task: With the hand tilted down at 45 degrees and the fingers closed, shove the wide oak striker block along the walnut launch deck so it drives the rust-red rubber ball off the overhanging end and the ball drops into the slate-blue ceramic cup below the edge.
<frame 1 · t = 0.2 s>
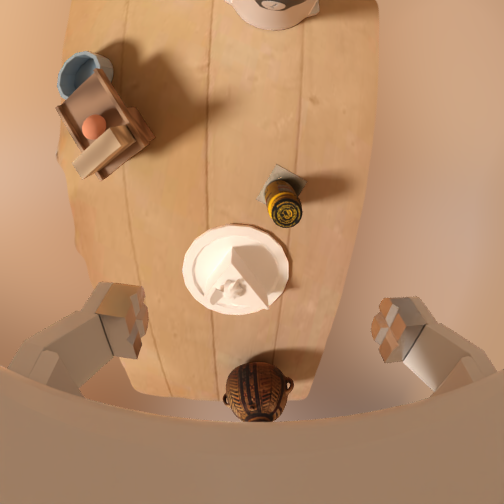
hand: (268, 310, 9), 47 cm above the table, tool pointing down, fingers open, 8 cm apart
cup: (93, 77, 40), on the table
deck: (119, 120, 46), on the table
striker: (113, 147, 41), point 9 cm above the table, touching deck
ball: (94, 127, 36), point 11 cm above the table, touching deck
dish: (235, 271, 65), on the table
vase: (255, 365, 82), on the table
condiment: (281, 189, 55), on the table
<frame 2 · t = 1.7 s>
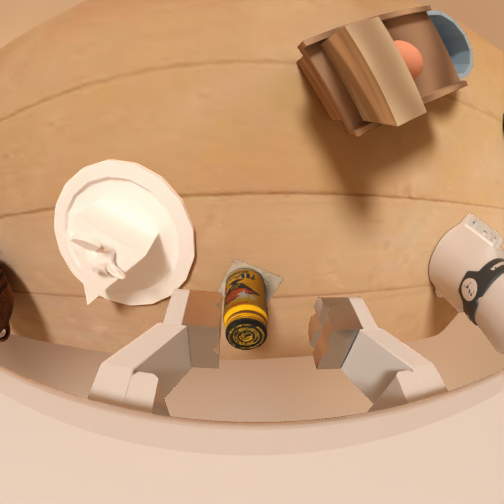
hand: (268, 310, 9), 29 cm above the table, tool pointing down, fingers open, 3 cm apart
cup: (422, 48, 25), on the table
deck: (362, 69, 28), on the table
striker: (356, 76, 21), point 9 cm above the table, touching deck
ball: (402, 60, 18), point 11 cm above the table, touching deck
dish: (119, 237, 40), on the table
vase: (1, 271, 41), on the table
condiment: (249, 284, 44), on the table
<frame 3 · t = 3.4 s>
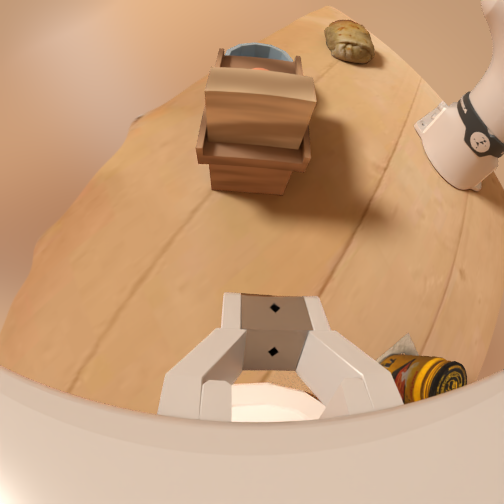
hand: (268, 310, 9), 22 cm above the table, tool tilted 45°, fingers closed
cup: (254, 87, 40), on the table
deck: (250, 142, 36), on the table
striker: (254, 131, 26), point 9 cm above the table, touching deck
dish: (252, 469, 26), on the table
condiment: (395, 372, 30), on the table
pastry: (345, 50, 47), on the table
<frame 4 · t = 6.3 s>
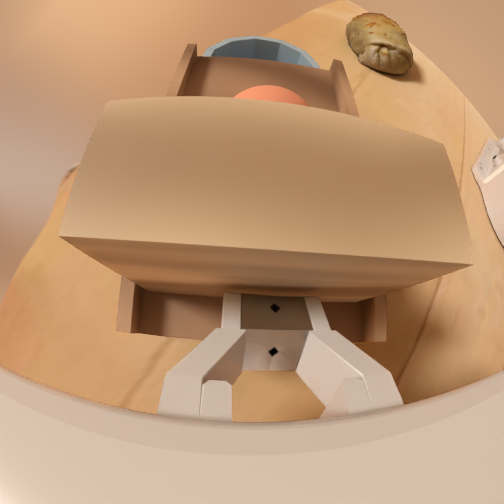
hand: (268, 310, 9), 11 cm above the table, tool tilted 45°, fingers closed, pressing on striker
cup: (254, 110, 25), on the table
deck: (247, 221, 22), on the table
striker: (257, 258, 12), point 9 cm above the table, touching gripper
ball: (267, 133, 11), point 11 cm above the table, touching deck
pastry: (374, 55, 33), on the table
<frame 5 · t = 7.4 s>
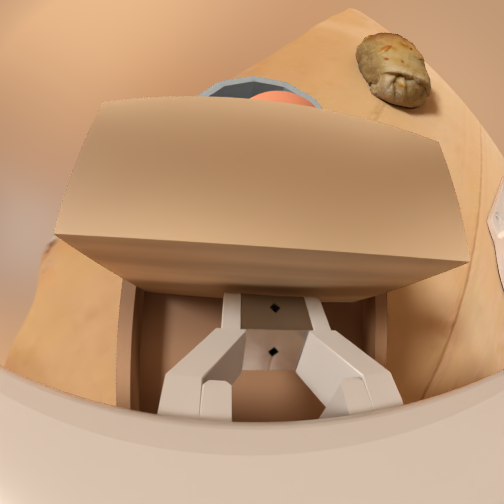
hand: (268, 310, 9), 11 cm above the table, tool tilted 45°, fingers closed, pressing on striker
cup: (251, 171, 23), on the table
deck: (243, 320, 20), on the table
striker: (254, 258, 12), point 9 cm above the table, touching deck, gripper
ball: (278, 139, 11), point 11 cm above the table, tilted 166°, touching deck
pastry: (386, 81, 31), on the table
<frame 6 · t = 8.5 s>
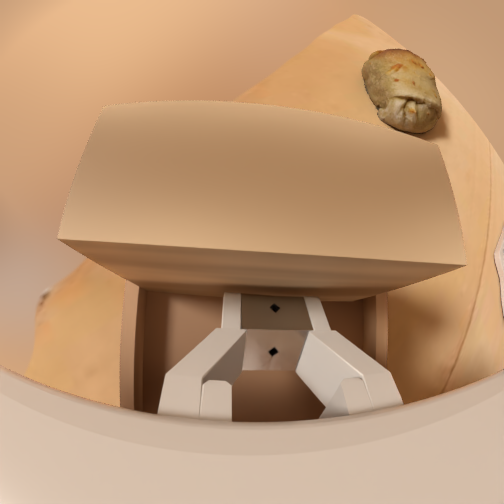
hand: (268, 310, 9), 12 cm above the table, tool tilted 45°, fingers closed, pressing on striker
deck: (242, 381, 19), on the table
striker: (254, 258, 12), point 9 cm above the table, touching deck, gripper
pastry: (394, 101, 29), on the table
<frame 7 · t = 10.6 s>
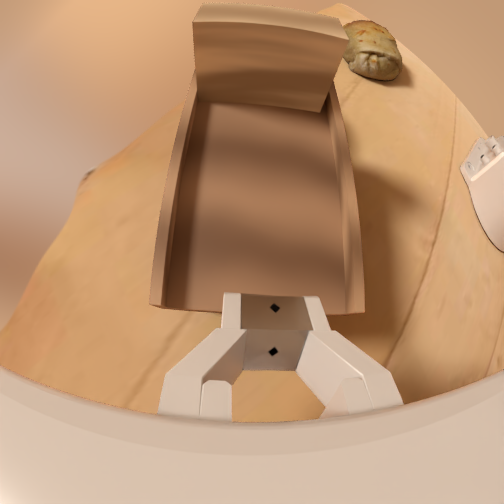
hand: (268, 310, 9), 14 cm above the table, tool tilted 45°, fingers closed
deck: (250, 218, 25), on the table
striker: (260, 90, 18), point 9 cm above the table, touching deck
pastry: (364, 61, 36), on the table
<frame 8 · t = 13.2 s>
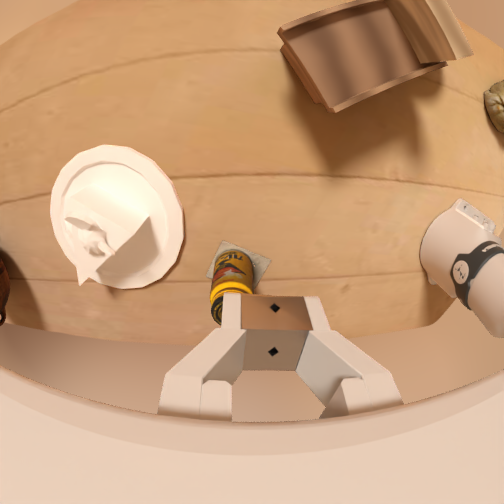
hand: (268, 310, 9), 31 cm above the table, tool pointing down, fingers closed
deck: (345, 55, 29), on the table
striker: (412, 28, 19), point 9 cm above the table, touching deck
dish: (112, 220, 40), on the table
condiment: (237, 267, 45), on the table
pastry: (500, 105, 30), on the table
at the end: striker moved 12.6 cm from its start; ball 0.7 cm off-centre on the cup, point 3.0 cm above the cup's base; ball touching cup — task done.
